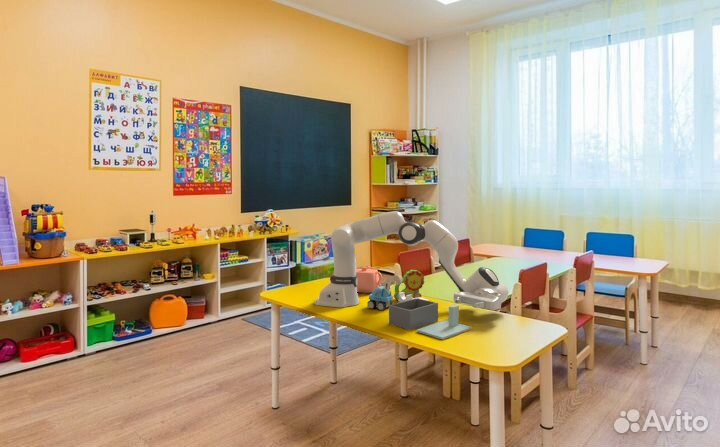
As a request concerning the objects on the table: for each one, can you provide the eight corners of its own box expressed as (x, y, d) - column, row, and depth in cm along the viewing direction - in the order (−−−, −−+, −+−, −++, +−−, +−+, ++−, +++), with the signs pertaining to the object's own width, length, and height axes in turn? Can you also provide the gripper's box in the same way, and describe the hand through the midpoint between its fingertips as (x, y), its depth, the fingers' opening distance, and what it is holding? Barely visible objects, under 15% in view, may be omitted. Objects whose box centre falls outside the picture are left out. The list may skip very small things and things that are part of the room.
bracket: (407, 311, 213) (407, 295, 212) (398, 308, 219) (398, 292, 218) (429, 307, 220) (429, 291, 219) (419, 304, 226) (419, 289, 225)
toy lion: (397, 301, 229) (397, 272, 228) (393, 299, 235) (393, 270, 233) (425, 299, 234) (425, 270, 233) (421, 296, 240) (421, 268, 238)
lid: (416, 333, 181) (416, 310, 181) (446, 323, 194) (446, 301, 193) (442, 341, 172) (442, 316, 171) (471, 330, 184) (472, 307, 184)
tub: (388, 323, 193) (388, 305, 192) (416, 315, 205) (416, 298, 204) (410, 330, 184) (410, 310, 183) (437, 321, 196) (438, 303, 195)
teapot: (386, 287, 263) (386, 263, 262) (379, 295, 244) (379, 269, 243) (353, 285, 268) (353, 262, 267) (343, 293, 249) (343, 268, 248)
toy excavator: (396, 313, 209) (396, 276, 207) (365, 308, 218) (365, 273, 216) (404, 308, 216) (404, 273, 215) (374, 304, 225) (374, 270, 223)
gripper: (464, 287, 209) (445, 291, 199) (504, 295, 194) (486, 300, 184) (463, 300, 209) (445, 306, 200) (504, 309, 194) (486, 315, 185)
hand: (465, 303), depth 192 cm, fingers open, 8 cm apart
